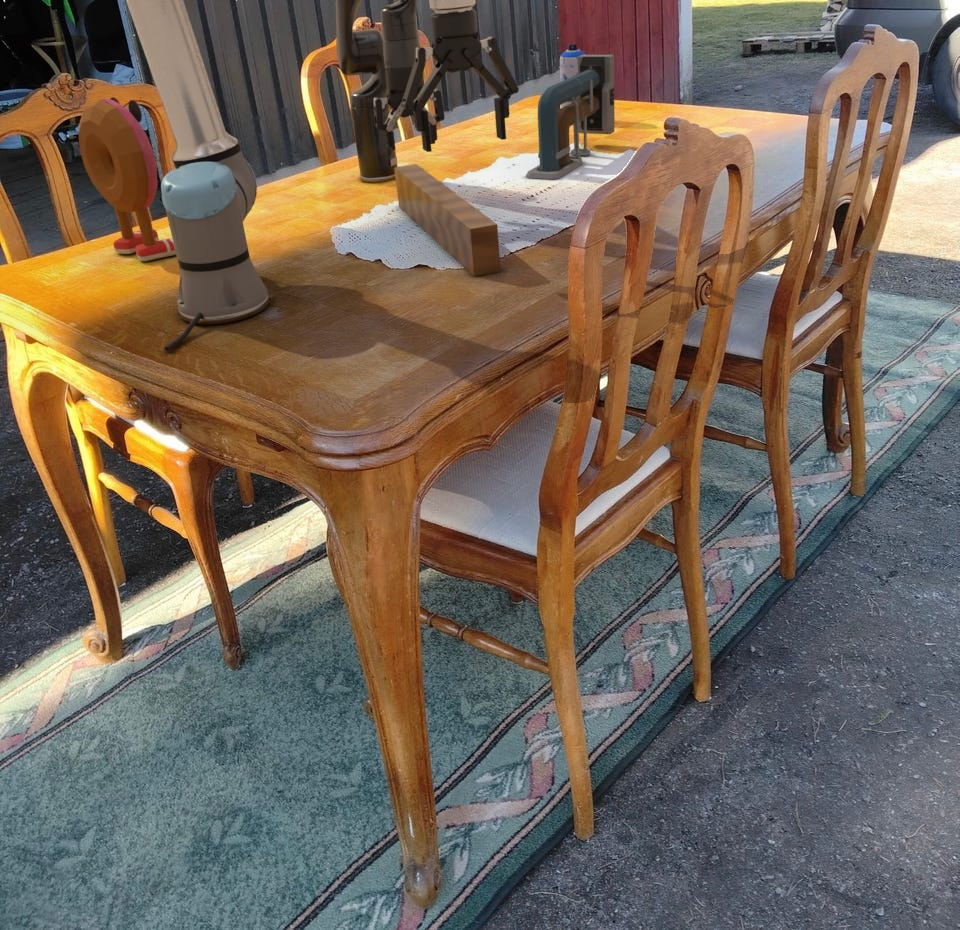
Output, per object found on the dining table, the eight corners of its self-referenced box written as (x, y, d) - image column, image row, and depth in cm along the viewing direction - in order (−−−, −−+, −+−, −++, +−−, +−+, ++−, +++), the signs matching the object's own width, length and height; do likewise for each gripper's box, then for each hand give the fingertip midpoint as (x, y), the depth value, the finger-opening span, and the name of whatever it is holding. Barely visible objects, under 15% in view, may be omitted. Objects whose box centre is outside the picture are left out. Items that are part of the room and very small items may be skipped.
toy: (199, 253, 194) (163, 96, 179) (154, 268, 188) (113, 106, 173) (144, 236, 207) (106, 89, 192) (101, 250, 201) (58, 98, 186)
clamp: (557, 179, 222) (554, 81, 212) (523, 177, 226) (518, 80, 215) (614, 143, 248) (614, 54, 237) (583, 142, 252) (581, 54, 241)
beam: (500, 271, 172) (497, 224, 168) (474, 276, 171) (470, 228, 167) (420, 203, 214) (416, 163, 210) (398, 206, 213) (394, 167, 209)
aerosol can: (559, 122, 275) (557, 47, 265) (562, 117, 282) (559, 42, 272) (587, 121, 274) (585, 45, 263) (589, 115, 280) (587, 41, 270)
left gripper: (516, -1, 163) (523, 129, 174) (372, 17, 157) (390, 151, 167) (532, 2, 157) (539, 137, 167) (384, 21, 150) (401, 159, 161)
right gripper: (432, 56, 197) (439, 138, 205) (364, 65, 193) (374, 148, 201) (443, 60, 191) (450, 144, 199) (373, 69, 187) (383, 155, 195)
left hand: (464, 144), depth 167 cm, fingers open, 13 cm apart
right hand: (412, 146), depth 200 cm, fingers open, 8 cm apart
